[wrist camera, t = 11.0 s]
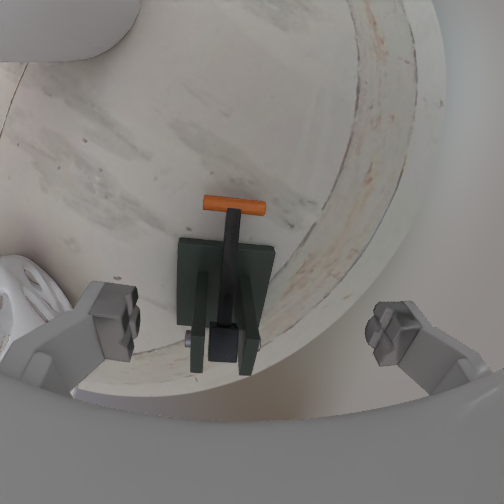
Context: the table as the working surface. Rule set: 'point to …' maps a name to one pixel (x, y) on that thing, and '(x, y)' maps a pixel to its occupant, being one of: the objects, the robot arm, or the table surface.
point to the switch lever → (228, 275)
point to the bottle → (62, 28)
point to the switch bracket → (207, 295)
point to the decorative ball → (16, 305)
